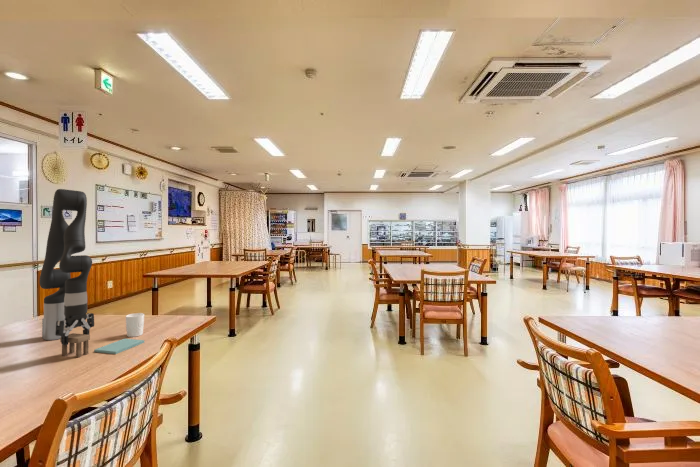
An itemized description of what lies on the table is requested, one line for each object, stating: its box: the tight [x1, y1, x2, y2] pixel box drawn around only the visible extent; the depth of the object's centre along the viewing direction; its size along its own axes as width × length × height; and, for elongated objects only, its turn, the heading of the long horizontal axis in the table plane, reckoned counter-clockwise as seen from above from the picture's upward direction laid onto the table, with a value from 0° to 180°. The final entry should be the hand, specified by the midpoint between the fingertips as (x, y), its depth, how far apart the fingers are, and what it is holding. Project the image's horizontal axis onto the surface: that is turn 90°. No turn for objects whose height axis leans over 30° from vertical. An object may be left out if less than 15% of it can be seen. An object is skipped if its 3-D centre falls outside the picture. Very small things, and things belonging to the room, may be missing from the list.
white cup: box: [125, 312, 145, 338], centre depth 165 cm, size 8×8×10 cm
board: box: [93, 338, 145, 355], centre depth 148 cm, size 11×15×1 cm
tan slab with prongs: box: [59, 332, 91, 359], centre depth 138 cm, size 9×5×8 cm, turn 79°
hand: (75, 341), depth 138 cm, fingers open, 8 cm apart
